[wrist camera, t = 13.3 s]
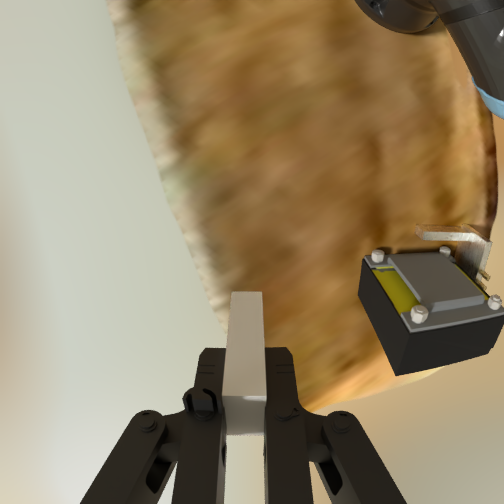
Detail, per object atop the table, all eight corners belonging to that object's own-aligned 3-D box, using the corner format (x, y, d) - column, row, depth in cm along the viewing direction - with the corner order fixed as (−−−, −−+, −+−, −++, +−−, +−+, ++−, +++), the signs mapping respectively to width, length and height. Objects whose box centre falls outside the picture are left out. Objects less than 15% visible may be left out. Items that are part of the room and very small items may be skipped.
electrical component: (448, 242, 50) (512, 302, 32) (437, 290, 54) (488, 356, 36) (363, 246, 50) (413, 320, 32) (357, 298, 55) (394, 379, 37)
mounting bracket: (416, 221, 48) (447, 248, 39) (467, 224, 48) (500, 248, 39) (397, 305, 56) (418, 340, 46) (445, 301, 56) (469, 332, 46)
